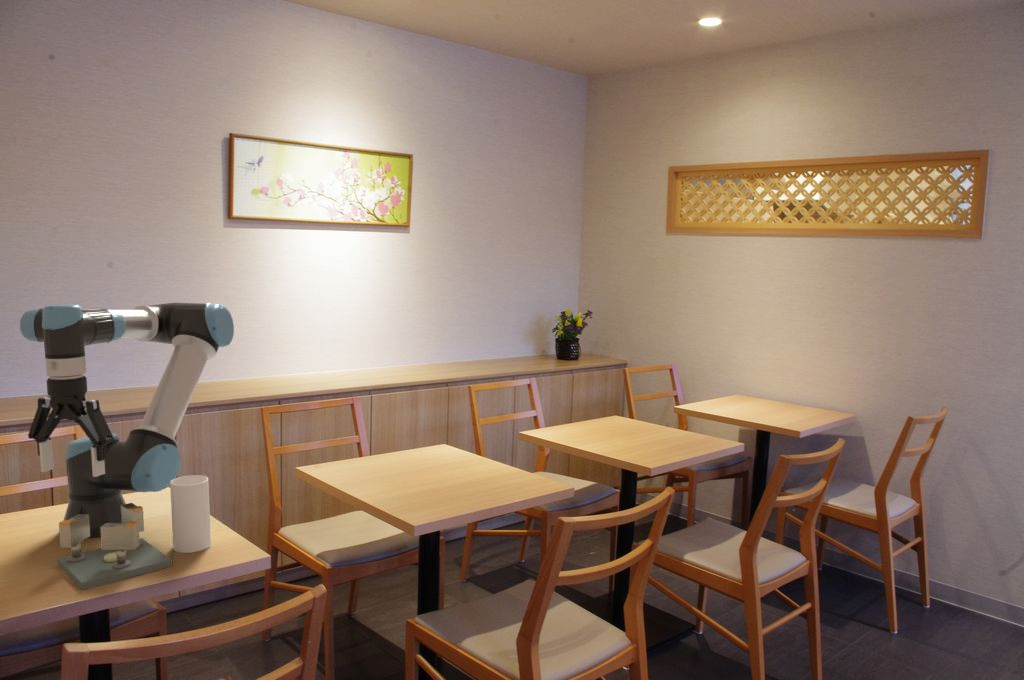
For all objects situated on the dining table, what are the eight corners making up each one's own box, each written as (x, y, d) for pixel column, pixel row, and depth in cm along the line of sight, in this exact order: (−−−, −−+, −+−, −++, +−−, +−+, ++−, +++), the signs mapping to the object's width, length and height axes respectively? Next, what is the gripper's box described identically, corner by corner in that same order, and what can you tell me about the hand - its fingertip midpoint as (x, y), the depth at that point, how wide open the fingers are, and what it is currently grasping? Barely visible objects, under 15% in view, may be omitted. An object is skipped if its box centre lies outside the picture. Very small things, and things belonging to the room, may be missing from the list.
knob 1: (102, 564, 170) (100, 524, 169) (108, 559, 172) (105, 520, 171) (135, 564, 170) (133, 524, 169) (140, 559, 172) (138, 520, 171)
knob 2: (122, 539, 184) (120, 502, 183) (133, 536, 186) (131, 500, 185) (133, 547, 180) (131, 510, 179) (144, 544, 181) (142, 507, 180)
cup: (188, 555, 181) (185, 487, 179) (165, 548, 185) (162, 481, 183) (218, 544, 188) (215, 478, 186) (196, 537, 192) (193, 473, 190)
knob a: (80, 549, 178) (78, 512, 177) (91, 549, 178) (88, 512, 177) (61, 561, 171) (58, 522, 170) (72, 562, 171) (69, 523, 170)
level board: (57, 564, 175) (56, 554, 175) (142, 544, 188) (141, 534, 187) (82, 590, 162) (81, 579, 162) (171, 566, 175) (171, 555, 175)
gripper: (4, 376, 170) (12, 473, 172) (101, 381, 164) (108, 482, 166) (34, 371, 177) (40, 464, 180) (128, 376, 171) (133, 472, 173)
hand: (73, 472), depth 173 cm, fingers open, 13 cm apart
